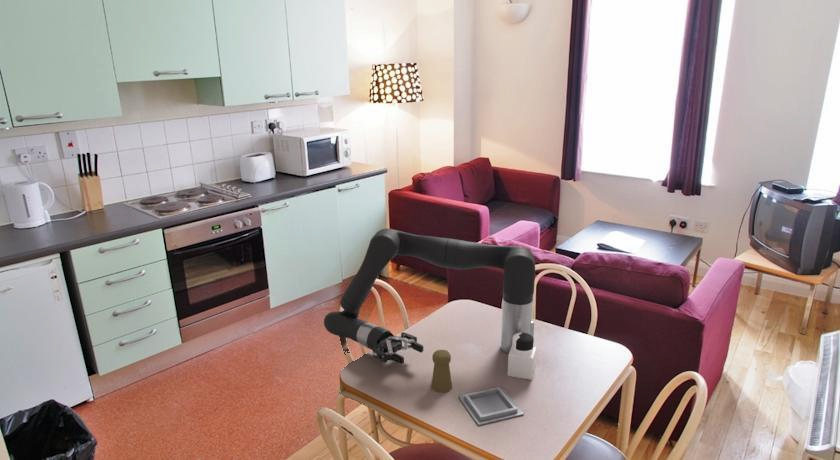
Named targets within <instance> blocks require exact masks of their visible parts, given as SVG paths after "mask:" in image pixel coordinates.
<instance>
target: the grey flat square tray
mask: <svg viewBox="0 0 840 460" xmlns="http://www.w3.org/2000/svg"><path fill="white" fill-rule="evenodd" d="M458 399H459V401H460V402H461V403H462V405H463V406H464V407H465V408H466V409H465V410H467V412H468V413H469V415H470V416H471V417H472V419H473V421H474V422H475V423H476V424H477V426H478V427H480V426H483V425H487V424H491V423H492V424H493V423H496V422H500V421H505V420H509V419H514V418H517V417H522V416H525V415H524V412H523V411H522V410H521V409H520V407H518V405H517V404H516V402H514V400H513V399H512V398H511V397H510V396H509V394H508V393H507V392H506V391H505V389H503V388H502V386H497V387H494V388H489V389H485V390H480V391H475V392H470V393H466V394H462V395H458Z"/></svg>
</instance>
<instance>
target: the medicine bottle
mask: <svg viewBox="0 0 840 460" xmlns="http://www.w3.org/2000/svg"><path fill="white" fill-rule="evenodd" d="M534 339H535V338H534V337H532V335H530V334H528V333H516V334H515V335H514V336H513V341H512V347H511V349H510V352H509V353H508V355H507V356H508V357H507V377H513V378H519V379H524V380H525V379H526V380H530V381H531V380H533V376H534V373H535V370H536V360H537V359H536V358H537V347H536V346H534V341H535V340H534Z"/></svg>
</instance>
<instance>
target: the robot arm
mask: <svg viewBox="0 0 840 460" xmlns="http://www.w3.org/2000/svg"><path fill="white" fill-rule="evenodd" d="M396 256H405V257H414V258H417V259H420V260H423V261H424V262H427V263H428V264H431V265H433V266H435V267H436V266H437V267H440V268H445V269H452V270H460V271H461V270H472V269H477V268H479V269H480V268H492V269H493V268H494V269H499V270H503V285H502V286H503V287H502V312H501V313H502V315H501V338H500V339H501V340H500V347H501V350H502V351H503V352H505V353H507V354H509V352H510V349H511V347H512V341H513V336H514V335H515V334H516V333H528V334H530V335H532V337H533V338H534V336H535V332H534V331H535V322H534V321H533V307H534V306H533V304H534V303H533V302H534V293H535V283H536V281H535V279H536V263H535V257H534V254H533V253H532V251H531V250H530V249H528V248H526V247H523V246H516V245H494V244H488V243H487V244H485V243H480V242H476V241H475V242H474V241H468V240H461V239H455V238H448V237H438V236H430V235H419V234H413V233H410V232H405V231H401V230H397V229H393V228H381V229H380V230H378V231H377V232H376V233H375V234H374V235H373V236H372V237H371V239H370V240H369V244H368V248H367V250H366V253H365V256H364V258H363V261H362V263H361V265H360V267H359V269H358V270H357V272H356V274H355V275H354V277H353V278H352V280H351V281H350V283H349V284H348V286H347V288H346V290H345V291H344V293H343V294H342V297H341V298H340V301H339V303H340V307H341V308H342V309H343V310H342V311H341V310H340V311H336V310H335V311H330V312H329V313H328V312H327V314H326V315H325V317H324V319H323V325H324V329H326V331H327V332H328V333H330V334H331V335H335V336H338V337H341V338H346V339H350V340H352V341H354V342H356V343H358V344H360V345H361V346H363V347H365V348H367V349H369V350H370V351H372V357H373V358H375V359H377V360H379V361H380V362H382V363H383V364H384V363H388V361H389V362H394V363H397V364H400V365H403V364H404V363H405V357H404V356H402V355H400V354H398V353H397V352H398V351H401V350H403V351H404V350H407V349H412V350H413V351H417V352H418V353H421V354H422V353H424V345H423V344H422V343H419V342H418V337H417V336H415V335H413V334H410V333H407V332H401V333H400V334H401V335H400V336H398V335H397V336H396V335H394V334H393V333H392V332H391V330H388V329H387V328H384V327H382V326H380V325H377V324H375V323H371V322H368V321H366V320H363V319H360V318H359V315H360V310H361V308H362V306H363V304H364V303H365V301H366V299H367V298H368V296H369V294H370V292H371V290H372V288H373V285H374V284H375V282H376V280H377V278H378V277H379V276H380V274H381V272H383V270H384V269H385V268H386V266H387V265H388V264H389V263H390V262H391V261H392V260H393V259H394V258H396Z"/></svg>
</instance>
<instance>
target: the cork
mask: <svg viewBox="0 0 840 460" xmlns="http://www.w3.org/2000/svg"><path fill="white" fill-rule="evenodd" d="M431 359H432V362H433V369H432V370H433V371H432V377H431V384H430V385H431V386H430V388H431V390H433V391H434V392H436V393H441V394H442V393H443V394H444V393H447V392H450V391H451V390H452V388H453V382H452V376H451V367H450V363H451V361H452V356H451V353H450V352H449V351H448V350H445V349H438V350H435V351H434V352H433V354H432V358H431Z"/></svg>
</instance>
